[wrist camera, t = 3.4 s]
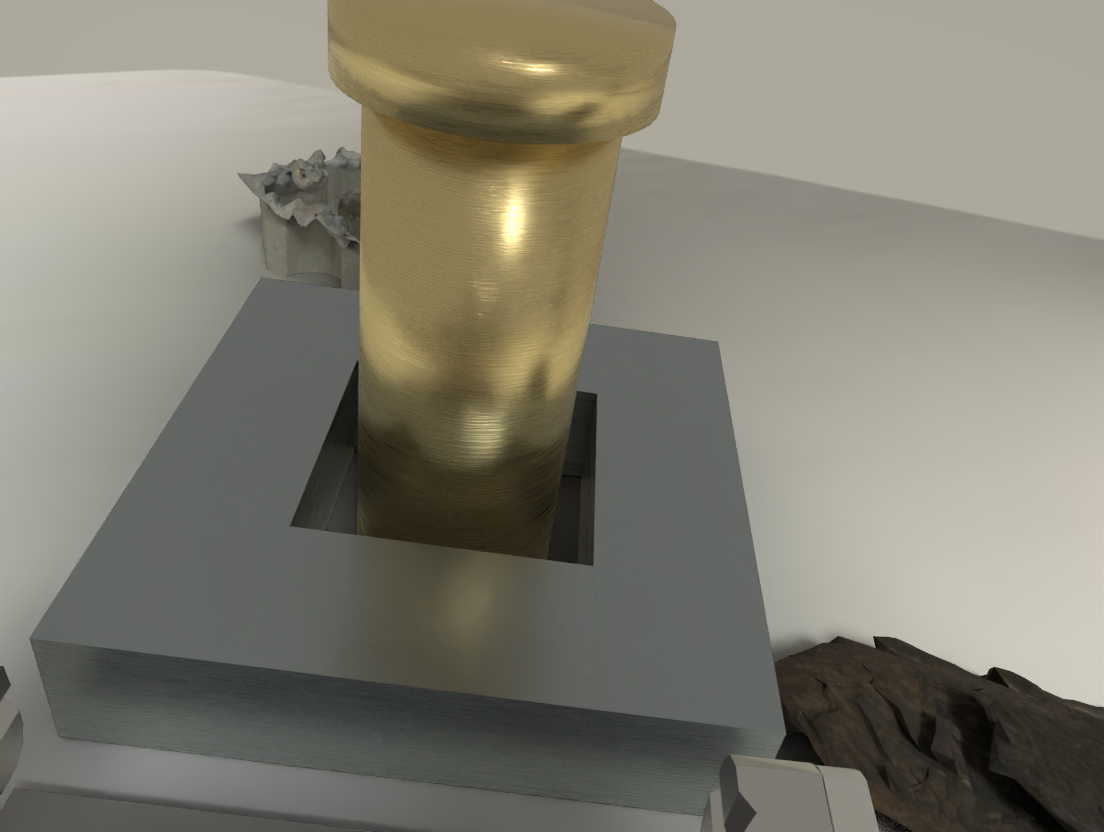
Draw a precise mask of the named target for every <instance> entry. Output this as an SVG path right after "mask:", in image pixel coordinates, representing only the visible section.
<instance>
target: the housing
mask: <svg viewBox="0 0 1104 832" xmlns="http://www.w3.org/2000/svg"><path fill="white" fill-rule="evenodd" d="M359 302H360V291H354V290H347V289H340V288H333V287H326V286H318V285H311V284H304V283H297V282H290V281H283V280H276V279H269V278H261V279H260V281H259V282H258V284H257V285H256V287H255V288H254V290H253V291H252V293H251V295H250V296H249V298H248V299H247V301H246V302H245V304H244V305H243V307H242V309H241V310H240V312H239V313H238V315H237V316H236V318H235V319H234V321H233V323H232V324H231V326H230V327H229V329H228V330H227V332H226V333H225V335H224V337H223V338H222V340H221V341H220V343H219V344H218V346H217V347H216V349H215V351H214V352H213V354H212V355H211V357H210V358H209V360H208V361H207V363H206V365H205V366H204V368H203V369H202V371H201V372H200V374H199V375H198V377H197V379H196V380H195V382H194V383H193V385H192V386H191V388H190V389H189V391H188V393H187V394H186V396H185V397H184V399H183V400H182V402H181V403H180V405H179V407H178V408H177V410H176V411H175V413H174V414H173V416H172V417H171V419H170V421H169V422H168V424H167V425H166V427H165V428H164V430H163V431H162V433H161V435H160V436H159V438H158V439H157V441H156V442H155V444H154V445H153V447H152V449H151V450H150V452H149V453H148V455H147V456H146V458H145V459H144V461H143V463H142V464H141V466H140V467H139V469H138V470H137V472H136V473H135V475H134V477H133V478H132V480H131V481H130V483H129V484H128V486H127V487H126V489H125V491H124V492H123V494H122V495H121V497H120V498H119V500H118V501H117V503H116V505H115V506H114V508H113V509H112V511H111V512H110V514H109V515H108V517H107V519H106V520H105V522H104V523H103V525H102V526H101V528H100V529H99V531H98V533H97V534H96V536H95V537H94V539H93V540H92V542H91V543H90V545H89V547H88V548H87V550H86V551H85V553H84V554H83V556H82V557H81V559H80V561H79V562H78V564H77V565H76V567H75V568H74V570H73V571H72V573H71V575H70V576H69V578H68V579H67V581H66V582H65V584H64V585H63V587H62V589H61V590H60V592H59V593H58V595H57V596H56V598H55V599H54V601H53V603H52V604H51V606H50V607H49V609H48V610H47V612H46V613H45V615H44V617H43V618H42V620H41V621H40V623H39V624H38V626H37V627H36V629H35V631H34V632H33V634H32V635H31V637H30V642H31V645H32V649H33V652H34V655H35V659H36V662H37V665H38V669H39V672H40V675H41V679H42V682H43V685H44V689H45V692H46V696H47V699H48V702H49V706H50V709H51V712H52V716H53V719H54V722H55V726H56V729H57V732H58V736H59V737H62V738H70V739H79V740H87V741H95V742H103V743H111V744H119V745H128V746H136V747H144V748H152V749H160V750H169V751H177V752H185V753H193V754H201V755H209V756H218V757H226V758H234V759H242V760H250V761H258V762H267V763H275V764H283V765H291V766H299V767H307V768H316V769H324V770H332V771H340V772H348V773H356V774H365V775H373V776H381V777H389V778H397V779H406V780H414V781H422V782H430V783H438V784H446V785H455V786H463V787H471V788H479V789H487V790H495V791H504V792H512V793H520V794H528V795H536V796H544V797H553V798H561V799H569V800H577V801H585V802H593V803H602V804H610V805H618V806H626V807H634V808H643V809H651V810H659V811H667V812H675V813H683V814H692V815H700V816H703V812H704V809H705V806H706V803H707V800H708V797H709V795H710V793H712V792H714V791H716V790H718V789H720V780H719V770H720V767H721V765H722V763H723V760H724V758H726V757H727V756H728V755H730V754H731V755H740V756H750V757H759V758H769V759H775V757H776V755H777V752H778V750H779V748H780V746H781V744H782V742H783V739H784V737H785V735H786V730H785V724H784V718H783V713H782V707H781V701H780V695H779V690H778V684H777V678H776V672H775V667H774V661H773V655H772V649H771V644H770V638H769V632H768V626H767V621H766V615H765V609H764V603H763V598H762V592H761V586H760V580H759V575H758V569H757V563H756V557H755V552H754V546H753V540H752V534H751V529H750V523H749V517H748V512H747V506H746V500H745V494H744V489H743V483H742V477H741V471H740V466H739V460H738V454H737V448H736V443H735V437H734V431H733V425H732V420H731V414H730V408H729V402H728V397H727V391H726V385H725V379H724V374H723V368H722V362H721V356H720V351H719V345H718V342H717V341H710V340H703V339H695V338H688V337H681V336H674V335H667V334H660V333H653V332H646V331H639V330H631V329H624V328H617V327H610V326H603V325H596V324H589V326H588V331H587V337H586V342H585V348H584V354H583V359H582V365H581V370H580V376H579V381H578V387H577V393H576V398H575V404H574V409H573V415H572V421H571V426H570V432H569V437H568V443H567V448H566V454H565V460H564V465H563V471H562V474H563V475H571V476H578V477H581V490H580V514H579V539H578V563H577V564H573V563H566V562H558V561H551V560H543V559H535V558H528V557H520V556H513V555H505V554H497V553H490V552H482V551H474V550H467V549H459V548H452V547H444V546H436V545H429V544H421V543H414V542H406V541H398V540H391V539H383V538H376V537H368V536H360V535H353V534H345V533H337V532H330V531H326V529H327V526H328V524H329V521H330V518H331V515H332V512H333V510H334V507H335V504H336V501H337V498H338V496H339V493H340V490H341V487H342V484H343V482H344V479H345V476H346V473H347V471H348V468H349V465H350V462H351V459H352V457H353V454H354V451H355V448H356V447H358V389H359Z"/></svg>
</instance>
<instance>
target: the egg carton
mask: <svg viewBox="0 0 1104 832" xmlns="http://www.w3.org/2000/svg"><path fill="white" fill-rule="evenodd" d="M325 158H326V157H325V155H324V154H323V152H322V151H321V150H318V151H315V152H314V153H313V155H312V156H311V157H310V159H309V160H308V161H304V160H303V159H298V160H295V159H294V160H293V161H292V162H291V163H289V164H288V165H278V164H277V163H273V165H272V167H271V169H270V170H269V172H268V173H261V174H256V175H252V174H240V173H237V174H238V175H239V177H240V178H241V179H242V180H243V182H244V183H245V184H246V185H247V186H248V187H249V189H250V190H251V191H252V192H253V193H254V194H255V195H257V196H258V197H259V198H260V207H261V219H262V231H263V248H264V249H266V251H265V260H266V265H267V269H268V270H270V271H272V272H275V273H277V274H280V275H283V276H286V277H287V276H292V275H295V274H299V273H306V272H320V273H326V274H330V275H333V276H335V277H337V278H339V279H341V289H347V290H354V291H360V216H361V155H360V154H358V153H355V152H353V151H346V150H345V149H344V147H342V148H340V149H339V150H338V151H337V153H336V156H335V158H334V159H333V160H330V161H327V162H324V160H325ZM332 212H336V213H338V215H334V216H333V214H332Z"/></svg>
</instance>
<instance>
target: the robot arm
mask: <svg viewBox="0 0 1104 832" xmlns="http://www.w3.org/2000/svg"><path fill="white" fill-rule="evenodd" d="M10 686H11V684H10V682H9V679H8V677H7V674H6V672H5V669H4V667H3V666H0V795H1V794H2V792H3V791H4V789H5V787H6V785H7V783H8V782H9V780H10V778H11V776H12V774H13V772H14V771H15V768H16V765H17V762H18V758H19V755H20V752H21V748H22V745H23V725H24V724H23V721H22V717H21V714H20V711H19V709H17V708H16V707H15V706H14V705H12V704H11V703H10V702H9V701H7V700H6V699H5V698H4V695H5V694H6V692H7V690H8V689H9V687H10ZM719 780H720V789H718V790H716V791H714V792H712V793H710V795H709V797H708V800H707V803H706V806H705V809H704V812H703V819H702V826H701V832H879V828H878V824H877V820H876V816H875V812H874V808H873V804H872V800H871V796H870V792H869V788H868V784H867V780H866V779H865V777H864V776H863V775H862V773H861V772H860V771H858V770H856V769H850V768H840V767H831V766H821V765H813V763H807V762H797V761H788V760H778V759H769V758H759V757H750V756H740V755H731V754H730V755H728V756H727V757H726V758H724V760H723V763H722V765H721V767H720V770H719Z"/></svg>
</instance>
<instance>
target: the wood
mask: <svg viewBox="0 0 1104 832" xmlns="http://www.w3.org/2000/svg"><path fill="white" fill-rule="evenodd" d="M873 638H874V642H875V646H876V648H873V647H870V646H867V645H864V644H861V643H858V642H855V641H852V640H849V639H846V638H843V637H840V636H838V637H836V638H835V639H834V640H832V641H831V642H829V643H821V644H819V645H817V646H815V647H813V648H811V649H808V650H806V651H803V652H800V653H798V654H795V655H790V656H789V657H787V658H784V659H781V660H779V661H777V662H775V663H774V667H775V672H776V678H777V684H778V690H779V695H780V701H781V707H782V713H783V718H784V724H785V729H786V730H788V731H790V732H803V733H804V734H805V735H806V736H807V737H809V739H810V741H811V744H812V746H813V748H814V750H815V751H816V753H817V754H818V756H819V757H820V759H821V760H822V762H823V763H824V765H825V766H831V767H840V768H850V769H856V770H858V771H860V772H861V773H862V775H863V776H864V777H865V779H866V780H867V784H868V788H869V792H870V796H871V800H872V804H873V808H874V809H876V810H877V811H879V812H881V813H882V814H884V815H886V816H888V817H889V818H891V819H893V820H894V821H896V822H898V823H900V824H901V825H903V826H905V827H906V828H908V829H910V830H911V831H913V832H1104V707H1095V706H1092V705H1088V704H1085V703H1082V702H1078V701H1075V700H1067V699H1062V698H1060V697H1057V696H1055V695H1053V694H1051V693H1048V692H1046V691H1044V690H1042V689H1041V688H1039V687H1038V686H1037V685H1035V684H1034V683H1032V682H1030V681H1029V680H1027V679H1025V678H1024V677H1022V676H1020V675H1017V674H1015V673H1013V672H1011V671H1008V670H1004V669H1000V668H997V667H993V668H991V669H989V671H988V674H987V675H983V676H976V675H974V674H971V673H969V672H968V671H966V670H964V669H962V668H960V667H958V666H956V665H954V664H952V663H950V662H947V661H945V660H942V659H940V658H937V657H935V656H933V655H931V654H929V653H926V652H924V651H922V650H920V649H918V648H916V647H914V646H913V645H910V644H908V643H906V642H903V641H901V640H899V639H897V638H891V637H876V636H873Z"/></svg>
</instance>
